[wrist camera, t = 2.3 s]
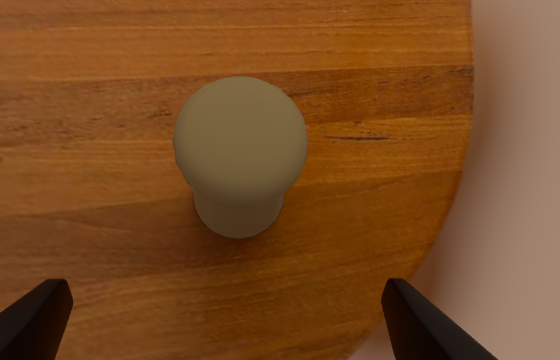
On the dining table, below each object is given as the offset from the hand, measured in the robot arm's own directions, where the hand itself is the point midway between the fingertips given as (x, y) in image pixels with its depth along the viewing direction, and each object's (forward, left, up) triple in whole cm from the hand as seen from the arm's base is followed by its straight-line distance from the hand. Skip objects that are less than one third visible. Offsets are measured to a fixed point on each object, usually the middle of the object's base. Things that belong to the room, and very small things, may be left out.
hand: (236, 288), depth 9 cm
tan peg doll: (+5, +1, -12) cm, 13 cm away
